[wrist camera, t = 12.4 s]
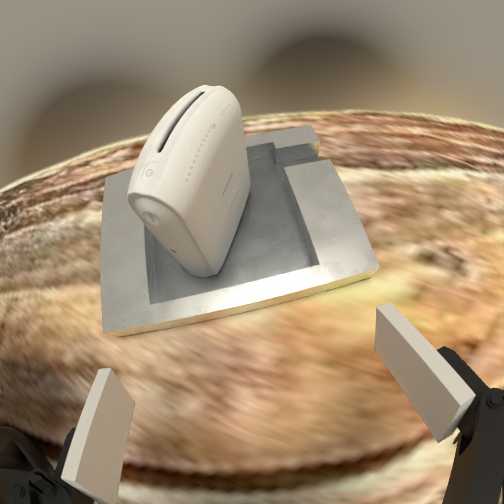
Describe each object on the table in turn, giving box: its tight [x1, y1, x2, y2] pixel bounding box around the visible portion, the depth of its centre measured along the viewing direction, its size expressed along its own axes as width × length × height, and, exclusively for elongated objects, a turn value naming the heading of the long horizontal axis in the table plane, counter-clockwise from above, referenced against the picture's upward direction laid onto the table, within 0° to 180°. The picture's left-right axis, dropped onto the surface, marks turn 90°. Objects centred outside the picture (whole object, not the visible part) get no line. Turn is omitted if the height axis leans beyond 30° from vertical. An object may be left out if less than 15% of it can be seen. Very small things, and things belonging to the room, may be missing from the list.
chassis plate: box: [100, 126, 380, 337], centre depth 24 cm, size 22×16×2 cm
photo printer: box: [127, 85, 250, 277], centre depth 19 cm, size 10×4×12 cm, turn 163°
